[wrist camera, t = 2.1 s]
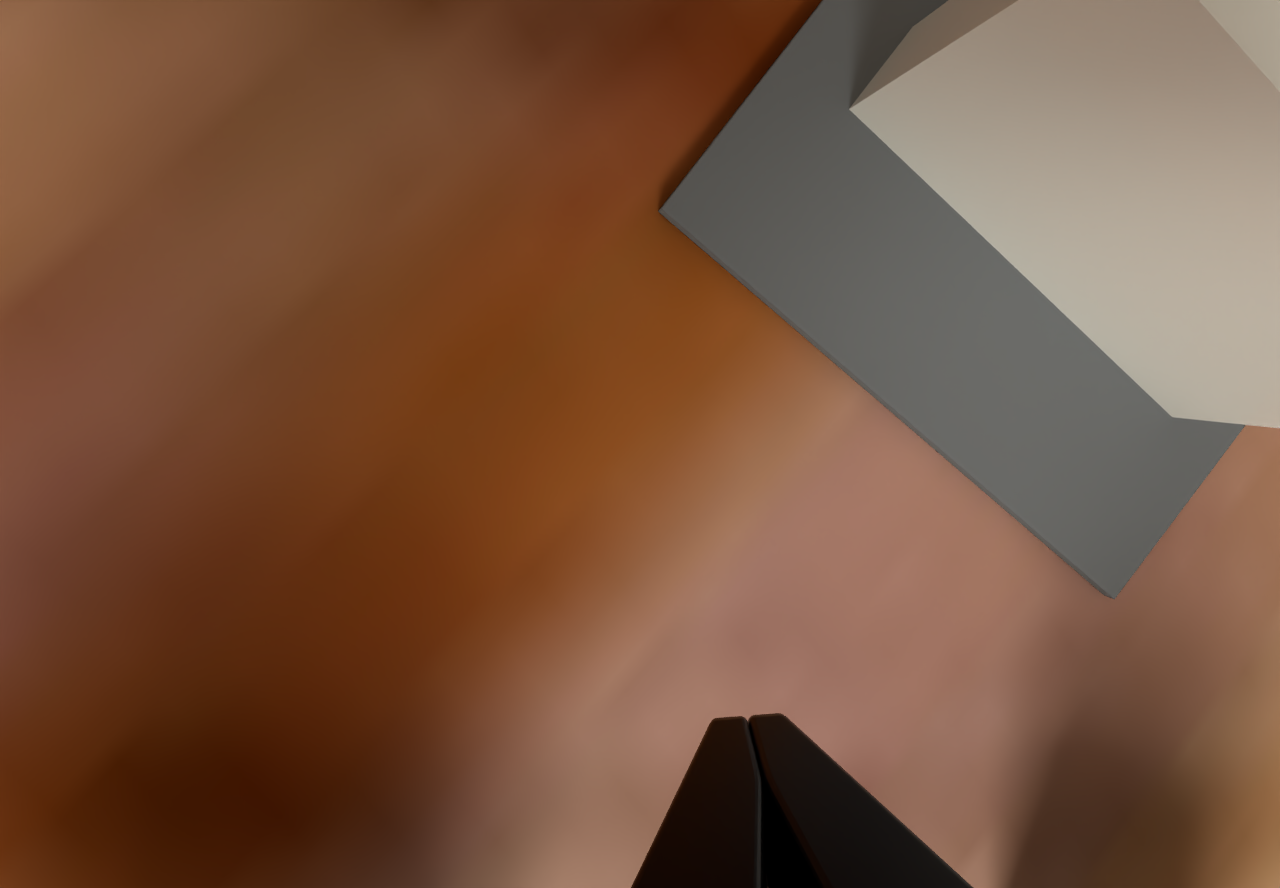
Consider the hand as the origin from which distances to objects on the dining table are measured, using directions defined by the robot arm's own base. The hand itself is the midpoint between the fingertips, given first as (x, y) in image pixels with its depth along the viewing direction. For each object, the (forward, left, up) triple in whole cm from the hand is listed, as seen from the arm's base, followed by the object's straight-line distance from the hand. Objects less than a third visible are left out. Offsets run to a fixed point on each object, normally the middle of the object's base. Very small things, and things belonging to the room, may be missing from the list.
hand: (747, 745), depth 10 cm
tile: (+7, -12, -11) cm, 17 cm away
